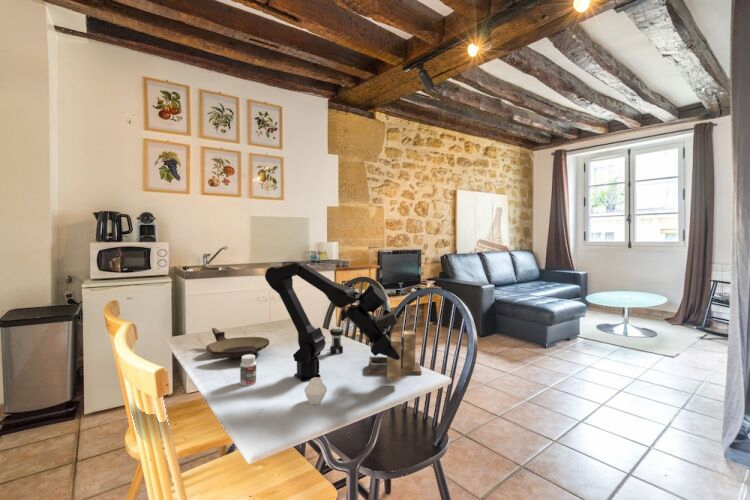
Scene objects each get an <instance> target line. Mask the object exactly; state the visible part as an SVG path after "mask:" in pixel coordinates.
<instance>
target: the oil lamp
mask: <svg viewBox="0 0 750 500" xmlns="http://www.w3.org/2000/svg"><path fill="white" fill-rule="evenodd" d="M211 328H212V329H211V330H212V333H213V335H214V339H215V340H216V341H214V342H212V343H209V344H208V345H206V351H207V352H210V355H214V356H217V357H220V358H227V359H239V358H242V356H244V355H249V354H251V355H254V354H257V353H258V352H260V351H262V350H263V349H265V348H266V347H268V346H269V345H270V340H269V339H268V337H267V338H265V337H263V336H262V337H261V336H246V337H244V336H243V337H242V336H241V337H240V336H239V337H232V338H231V337H230V338H226V336H225V335H226V332H225V331H220V330H218V329H217V328H216V327H211Z"/></svg>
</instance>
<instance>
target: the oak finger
mask: <svg viewBox="0 0 750 500" xmlns="http://www.w3.org/2000/svg"><path fill="white" fill-rule="evenodd" d="M391 345H392V346H393V348H394V349H395V351H396V352H397V354H398V355H399V357H400V359H399V360H396V359H393V358H391V357H388V356H386V357H387V374H386V378H387V379H386V380H388V381H401V375H402V374H401V368H403V347H402V346H401V337H391Z"/></svg>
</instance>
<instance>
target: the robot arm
mask: <svg viewBox="0 0 750 500" xmlns="http://www.w3.org/2000/svg"><path fill="white" fill-rule="evenodd" d="M295 276H297V277H299V278H301V279H302V280H304V281H305V282H307V283H308V284H309V285H311V286H312V287H314V288H316V289H317V290H319V291H321V293H323V294H324V295H325V296H326V298H327V300H329V302H330V303H332V305H334V306H335V307H336V308H338V309H339V308H340V309H342V308H346V307H347V309H342V310H341V312H340V321H341V322H344V321H345V319H347V318H348V320H349V321H351V322H352V324H353V325H354V326H355V327H356V328H358V330H359V331H358V332H359V333H360V334H363V336H365V337H366V338H367V339H368V342H369V343H370V353H372V355H374V357H378V355H379V354H380V355H382V356H384V357H387V356H388V357H391V358H393V359H396V360H399V359H400V357H399V355H398V354H397V352H396V351H395V349H394V348H393V346H392V345H391V338H392V337H391V332H390V331H391V330H390V329H389V328H390V327H391V326H395V325H397V324H398V323H399V322H398V319H397V316H396V313H395V312H394V311H393V310H389V309H388V308H386V309H382V314H381V315H380V316H376V315H374V314H371V313H375V312H376V311H377V310H378V309H379V308H381V306H383V305H384V304H385V303H386V302H387V301H388V298H387V295H386V294H385V292H384V291H383V290H381V289H380V288H379V287H377V286H375V285H374V284H373V283H371V284H370V285H369V286H368V287H367V288H366V289H365V291H363V293H362V292H358V291H355V290H354V289H353V288H352V287H350V286H348V285H345V284H342V283H338V282H335V281H332V280H331V279H330V278H328V277H327V276H325V275H323V274H322V273H320V272H318V271H316V270H315V269H314V268H313V267H310V266H309V265H308V264H306V262H304V261H297V262H292V263H290V264H287V265H277V266H271V267H269V268H267V269H266V271H265V274H264V279H265V281H266V282H267V284H268V285H269V287H270V288H271V289H273V290H274V292H276V293H277V294H278V295H279V297H280V299H281V300H282V302H283V305H284V307H285V309H286V311H287V313H288V315H289V317H290V319H291V321H292V324H293V325H294V327H295V330H296V331H297V343H298V346H299V349H297V351H296V352H295V353H293V359H294V362H296V373H294V377H295V378H297V379H298V380H300V381H302V382H308V381H310V380H311V379H312V378H315V377H317V378H320V377H322V375H321V374H320V361H319V356H320V355H321V353H322V351H323V350H324V348H326V347H325V346H326V340H325V339H326V336H325V335H324V333H323V331H322V329H321V327H317V328H316V327H315V326H313V325H312V324H311V321H310V320H309V318H308V315H307V313H306V311H305V310H304V308H303V306H302V303H301V302H300V299H299V297H298V296H297V294H296V292H295V291H296V290H295V289H294V287H293V284H294V283H293V281H294V280H293V277H295ZM357 302H358V303H357ZM355 303H357V304H355ZM348 306H349V307H348ZM386 329H387V331H386Z"/></svg>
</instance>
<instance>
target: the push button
mask: <svg viewBox="0 0 750 500" xmlns="http://www.w3.org/2000/svg"><path fill="white" fill-rule="evenodd" d="M343 332H344V329H343V328H342V327H340V326H334V327H332V328H331V329H329V333H330V335H331V345H330V347H329V349H326V351H327V352H325V353H326V354H331V355H336V354H343V353H344V352H343V351H344V346H342V335H343Z"/></svg>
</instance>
